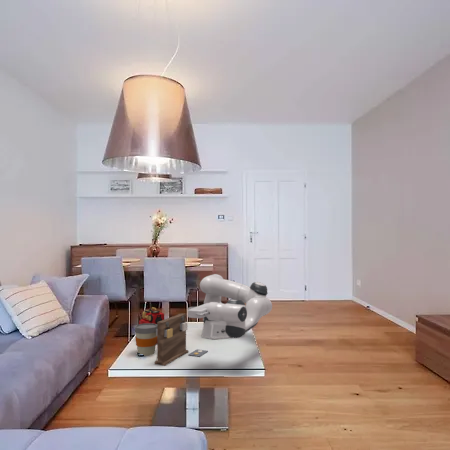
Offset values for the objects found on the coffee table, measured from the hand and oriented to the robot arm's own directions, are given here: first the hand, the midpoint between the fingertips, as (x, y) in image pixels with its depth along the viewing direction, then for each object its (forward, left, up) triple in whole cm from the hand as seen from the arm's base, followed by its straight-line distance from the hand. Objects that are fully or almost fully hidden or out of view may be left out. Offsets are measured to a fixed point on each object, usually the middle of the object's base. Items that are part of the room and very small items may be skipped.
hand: (189, 309), depth 183 cm
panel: (+8, -10, -27) cm, 30 cm away
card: (-6, -15, -27) cm, 32 cm away
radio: (+21, -43, -28) cm, 55 cm away
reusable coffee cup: (+22, -20, -28) cm, 41 cm away
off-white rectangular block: (+4, -17, -14) cm, 22 cm away
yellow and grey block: (+12, -4, -14) cm, 19 cm away
